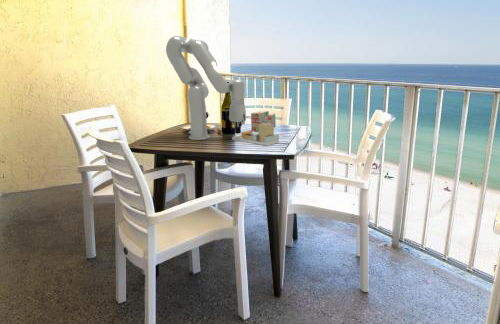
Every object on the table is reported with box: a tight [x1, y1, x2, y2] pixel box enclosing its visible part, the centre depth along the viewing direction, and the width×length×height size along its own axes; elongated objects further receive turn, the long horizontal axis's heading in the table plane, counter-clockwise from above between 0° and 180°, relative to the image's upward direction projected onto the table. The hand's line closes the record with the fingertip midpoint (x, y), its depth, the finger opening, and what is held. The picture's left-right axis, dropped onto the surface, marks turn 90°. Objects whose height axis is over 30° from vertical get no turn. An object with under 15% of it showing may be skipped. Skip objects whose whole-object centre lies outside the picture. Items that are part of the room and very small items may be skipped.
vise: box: [231, 134, 280, 147], centre depth 213 cm, size 27×10×4 cm, turn 46°
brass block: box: [257, 123, 275, 142], centre depth 206 cm, size 5×7×9 cm
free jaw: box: [241, 130, 259, 141], centre depth 213 cm, size 13×10×3 cm
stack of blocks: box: [250, 110, 276, 133], centre depth 249 cm, size 21×6×12 cm, turn 147°
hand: (237, 133), depth 221 cm, fingers closed
